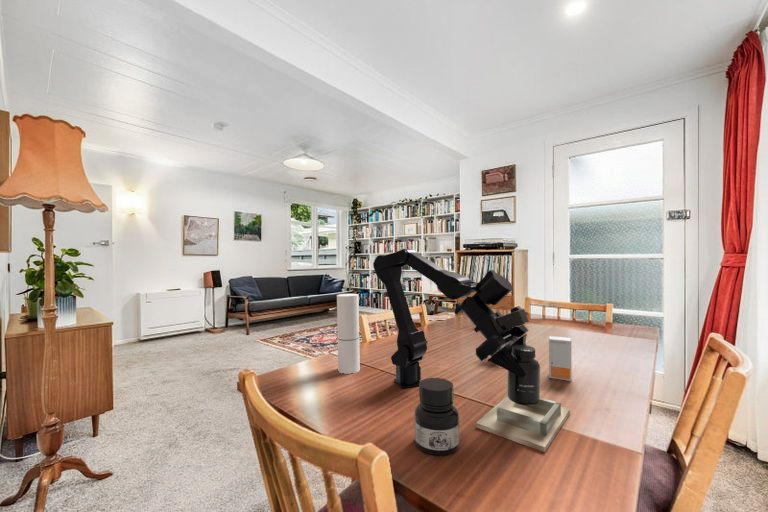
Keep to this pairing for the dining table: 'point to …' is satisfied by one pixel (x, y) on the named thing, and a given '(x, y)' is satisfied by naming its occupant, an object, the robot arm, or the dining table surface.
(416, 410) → the ink bottle
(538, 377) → the supplement bottle
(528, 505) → the dining table surface
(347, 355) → the cylindrical container
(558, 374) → the skincare box
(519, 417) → the cradle board
